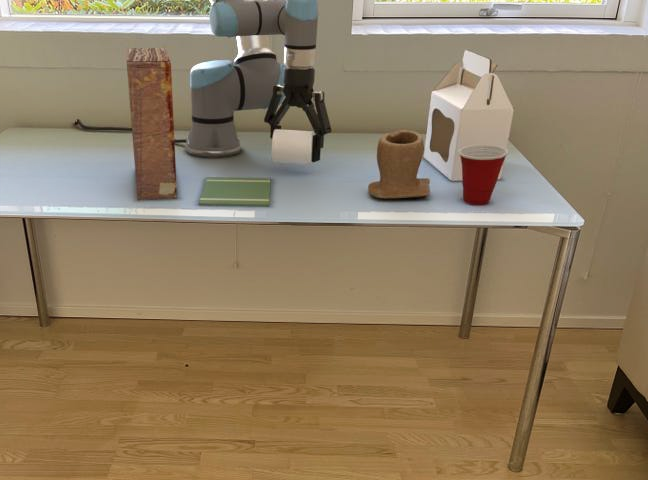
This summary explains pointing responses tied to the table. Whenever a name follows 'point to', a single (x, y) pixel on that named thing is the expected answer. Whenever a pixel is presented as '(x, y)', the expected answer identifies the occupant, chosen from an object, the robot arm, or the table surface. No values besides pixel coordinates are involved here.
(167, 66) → the book
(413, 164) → the stone cup
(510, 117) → the gable box
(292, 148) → the mug
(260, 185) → the cloth
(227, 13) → the robot arm
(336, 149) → the table surface
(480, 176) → the plastic cup
